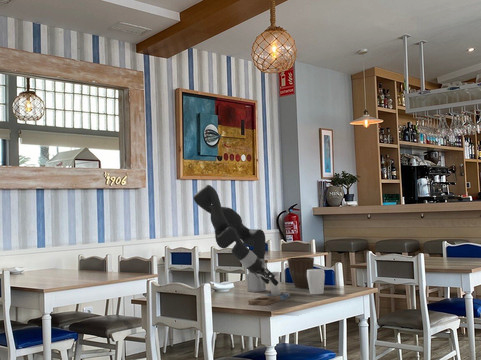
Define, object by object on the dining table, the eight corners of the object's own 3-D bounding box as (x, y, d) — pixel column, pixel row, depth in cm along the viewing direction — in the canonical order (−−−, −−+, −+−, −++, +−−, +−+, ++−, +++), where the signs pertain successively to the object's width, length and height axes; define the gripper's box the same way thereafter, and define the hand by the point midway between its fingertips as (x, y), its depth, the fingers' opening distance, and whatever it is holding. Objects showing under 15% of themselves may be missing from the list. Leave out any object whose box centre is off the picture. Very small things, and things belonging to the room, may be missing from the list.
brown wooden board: (248, 305, 269) (248, 300, 269) (273, 297, 292) (273, 292, 292) (266, 306, 265) (265, 301, 265) (290, 298, 288) (290, 293, 288)
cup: (322, 291, 305) (321, 268, 306) (328, 294, 296) (326, 269, 297) (305, 293, 304) (304, 269, 305) (310, 295, 295) (309, 271, 296)
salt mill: (270, 299, 284) (268, 272, 285) (274, 297, 288) (272, 271, 288) (278, 299, 282) (276, 272, 283) (282, 297, 286) (280, 271, 286)
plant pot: (318, 287, 323) (317, 258, 324) (291, 289, 321) (290, 259, 321) (311, 284, 337) (310, 256, 338) (286, 286, 335) (284, 258, 336)
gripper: (239, 266, 285) (261, 288, 289) (252, 268, 272) (275, 291, 276) (248, 254, 287) (270, 276, 292) (262, 255, 275) (284, 278, 279)
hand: (272, 283), depth 284 cm, fingers open, 8 cm apart
